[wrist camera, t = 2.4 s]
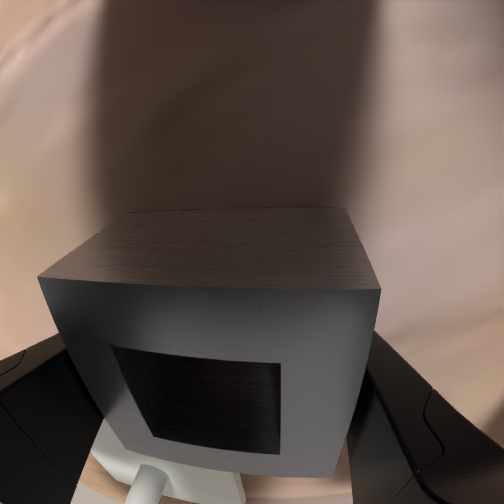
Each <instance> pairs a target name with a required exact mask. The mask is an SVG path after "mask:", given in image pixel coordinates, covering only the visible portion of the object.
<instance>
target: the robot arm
mask: <svg viewBox="0 0 504 504" xmlns="http://www.w3.org/2000/svg"><path fill="white" fill-rule="evenodd" d="M432 389H433V387H432V386H431V385H430V384H429V383H428V382H427V381H426V380H425V379H424V378H423V377H422V376H421V375H420V374H419V373H418V372H417V371H416V370H415V369H414V368H413V367H412V366H411V365H410V364H409V363H408V362H407V361H406V360H405V359H403V358H402V357H401V356H400V355H399V354H398V353H397V352H396V351H395V350H394V349H393V348H392V347H391V346H390V345H389V344H388V343H387V342H386V341H385V340H384V339H383V338H382V337H381V336H380V335H379V334H378V333H377V332H375V331H374V332H373V337H372V342H371V347H370V351H369V356H368V360H367V364H366V368H365V372H364V376H363V380H362V384H361V388H360V392H359V396H358V399H357V403H356V406H355V410H354V413H353V416H352V420H351V423H350V426H349V429H348V433H347V436H346V438H347V446H348V455H349V464H350V473H351V484H352V495H353V504H504V449H503V448H502V447H501V446H500V445H498V444H497V443H496V442H495V441H493V440H492V439H491V438H490V437H488V436H487V435H486V434H485V433H483V432H482V431H481V430H480V429H478V428H477V427H476V426H475V425H473V424H472V423H471V422H470V421H469V420H467V419H466V418H465V417H464V416H463V415H462V414H460V413H459V412H458V411H457V410H456V409H455V408H454V407H453V406H452V405H451V404H449V403H448V402H447V401H446V400H445V399H444V398H443V397H442V396H441V395H440V394H439V393H438V392H437V391H436V390H435V389H433V390H432ZM103 420H104V416H103V414H102V413H101V411H100V410H99V408H98V406H97V405H96V403H95V401H94V400H93V398H92V396H91V394H90V393H89V391H88V389H87V387H86V386H85V384H84V382H83V380H82V378H81V376H80V375H79V373H78V371H77V369H76V367H75V365H74V363H73V361H72V359H71V357H70V355H69V353H68V351H67V349H66V347H65V344H64V342H63V340H62V338H61V336H60V334H59V333H58V334H56V335H54V336H52V337H50V338H48V339H45V340H43V341H41V342H39V343H37V344H35V345H33V346H31V347H29V348H27V350H26V349H24V350H22V351H20V352H18V353H16V354H14V355H12V356H10V357H7V358H5V359H3V360H1V361H0V504H70V503H71V500H72V497H73V495H74V492H75V489H76V487H77V485H76V484H78V481H79V478H80V476H81V473H82V471H83V468H84V466H85V463H86V460H87V458H88V455H89V453H90V451H91V448H92V446H93V443H94V441H95V438H96V436H97V434H98V431H99V429H100V427H101V424H102V422H103Z"/></svg>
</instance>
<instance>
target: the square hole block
mask: <svg viewBox="0 0 504 504" xmlns="http://www.w3.org/2000/svg"><path fill="white" fill-rule="evenodd" d="M37 278H38V280H39V283H40V286H41V289H42V292H43V294H44V297H45V300H46V302H47V305H48V307H49V310H50V312H51V315H52V317H53V320H54V322H55V324H56V327H57V329H58V331H59V334H60V336H61V338H62V340H63V342H64V344H65V347H66V349H67V351H68V353H69V355H70V357H71V359H72V361H73V363H74V365H75V367H76V369H77V371H78V373H79V375H80V376H81V378H82V380H83V382H84V384H85V386H86V387H87V389H88V391H89V393H90V394H91V396H92V398H93V400H94V401H95V403H96V405H97V406H98V408H99V410H100V411H101V413H102V414H103V416H104V418H105V419H106V421H107V422H108V424H109V425H110V427H111V428H112V430H113V432H114V433H115V434H116V436H117V437H118V439H119V440H120V442H121V443H122V445H123V446H124V447H125V449H126V450H129V451H132V452H136V453H139V454H143V455H146V456H150V457H154V458H158V459H162V460H166V461H170V462H175V463H180V464H184V465H189V466H194V467H200V468H206V469H212V470H218V471H225V472H233V473H241V474H250V475H261V476H276V477H305V478H320V477H332V475H333V473H334V470H335V467H336V465H337V462H338V459H339V456H340V453H341V451H342V448H343V445H344V442H345V439H346V436H347V433H348V429H349V426H350V423H351V420H352V416H353V413H354V410H355V406H356V403H357V399H358V396H359V392H360V388H361V384H362V380H363V376H364V372H365V368H366V364H367V360H368V356H369V351H370V347H371V342H372V337H373V332H374V327H375V322H376V317H377V311H378V306H379V300H380V294H381V287H380V285H379V282H378V280H377V277H376V275H375V273H374V270H373V268H372V266H371V263H370V261H369V259H368V257H367V254H366V252H365V250H364V248H363V245H362V243H361V241H360V239H359V237H358V235H357V232H356V230H355V228H354V226H353V224H352V222H351V220H350V218H349V216H348V214H347V212H346V209H345V208H239V209H204V210H178V211H157V212H138V213H129V214H127V215H125V216H124V217H122V218H121V219H119V220H118V221H116V222H114V223H113V224H111V225H110V226H108V227H107V228H105V229H104V230H102V231H101V232H99V233H98V234H96V235H95V236H93V237H92V238H90V239H89V240H87V241H86V242H84V243H83V244H81V245H80V246H79V247H77V248H76V249H74V250H73V251H71V252H70V253H69V254H67V255H66V256H64V257H63V258H62V259H60V260H59V261H58V262H56V263H55V264H53V265H52V266H51V267H49V268H48V269H47V270H45V271H44V272H43V273H41V274H40V275H39V276H37Z"/></svg>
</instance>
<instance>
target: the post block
mask: <svg viewBox="0 0 504 504" xmlns="http://www.w3.org/2000/svg"><path fill="white" fill-rule="evenodd" d="M90 452H91V453H92V454H93V455H94V457H95V458H96V459H97V460H98V461H99V462H100V463H101V465H102V466H103V467H104V468H105V469H106V470H107V471H108V472H109V473H110V474H111V475H112V477H113V478H114V479H115V480H116V481H119V482H122V483H125V484H128V485H131V488H130V490H129V493H128V495H127V497H126V500H125V502H124V504H159V501H160V498H161V496H162V495H164V496H168V497H172V498H176V499H180V500H185V501H189V502H194V503H199V504H245V503H246V496H245V493H244V489H243V485H242V481H241V477H240V473H233V472H225V471H218V470H212V469H206V468H200V467H194V466H189V465H184V464H180V463H175V462H170V461H166V460H162V459H158V458H154V457H150V456H146V455H143V454H139V453H136V452H132V451H129V450H126V449H125V447H124V446H123V445H122V443H121V442H120V440H119V439H118V437H117V436H116V434H115V433H114V432H113V430H112V428H111V427H110V425H109V424H108V422H107V421H106V419H105V418H104V420H103V422H102V424H101V427H100V429H99V431H98V434H97V436H96V438H95V441H94V443H93V446H92V448H91V451H90Z"/></svg>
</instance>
